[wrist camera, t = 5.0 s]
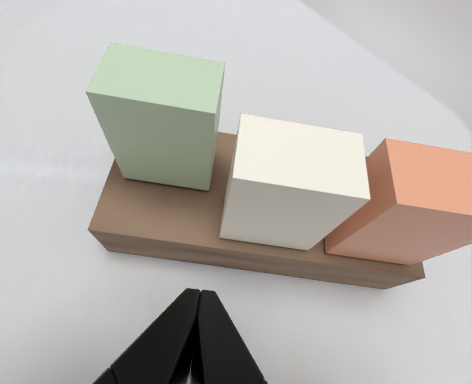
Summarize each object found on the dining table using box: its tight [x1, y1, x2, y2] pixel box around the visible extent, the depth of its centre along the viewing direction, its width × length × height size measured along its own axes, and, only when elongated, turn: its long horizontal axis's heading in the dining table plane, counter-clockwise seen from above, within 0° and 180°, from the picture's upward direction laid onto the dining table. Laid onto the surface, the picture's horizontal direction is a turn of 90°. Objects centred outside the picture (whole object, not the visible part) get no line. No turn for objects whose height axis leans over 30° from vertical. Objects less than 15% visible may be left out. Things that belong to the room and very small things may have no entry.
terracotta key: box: [325, 138, 472, 265], centre depth 14 cm, size 3×5×6 cm, turn 84°
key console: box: [88, 132, 425, 289], centre depth 19 cm, size 8×19×4 cm, turn 84°
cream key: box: [219, 114, 370, 251], centre depth 14 cm, size 3×5×6 cm, turn 84°
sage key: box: [86, 42, 225, 191], centre depth 15 cm, size 3×5×6 cm, turn 84°
